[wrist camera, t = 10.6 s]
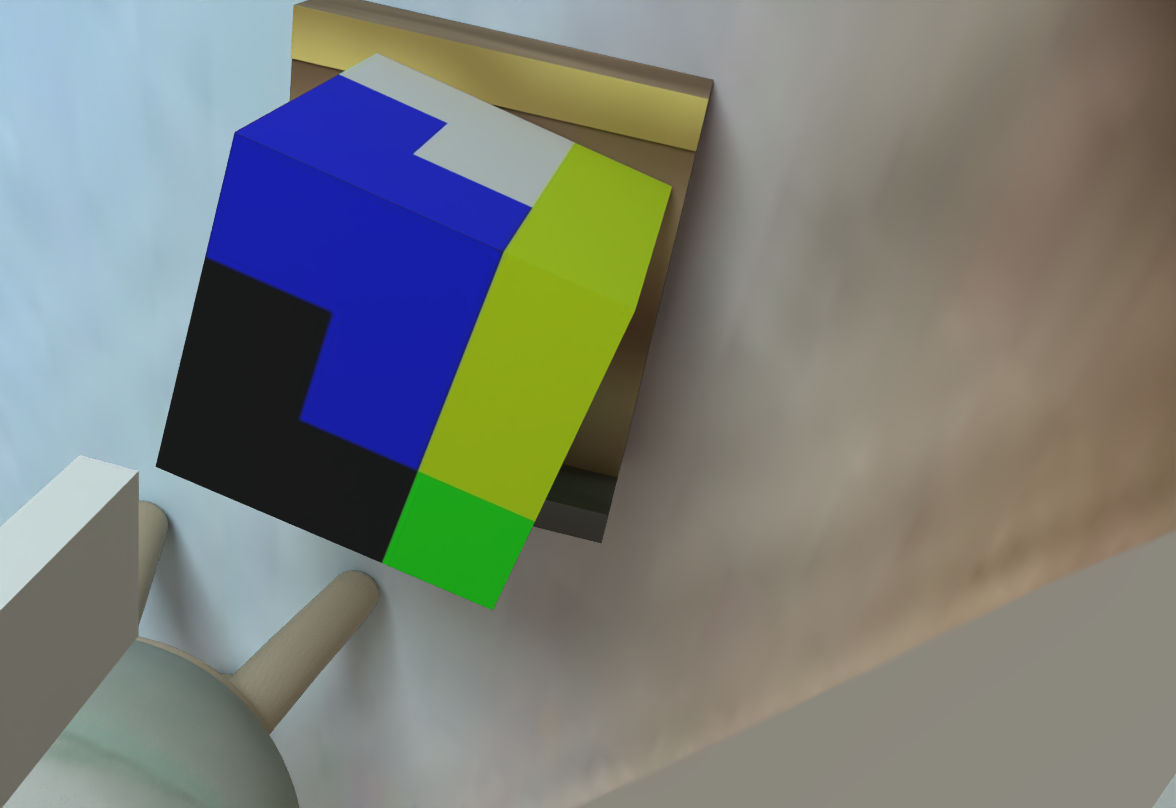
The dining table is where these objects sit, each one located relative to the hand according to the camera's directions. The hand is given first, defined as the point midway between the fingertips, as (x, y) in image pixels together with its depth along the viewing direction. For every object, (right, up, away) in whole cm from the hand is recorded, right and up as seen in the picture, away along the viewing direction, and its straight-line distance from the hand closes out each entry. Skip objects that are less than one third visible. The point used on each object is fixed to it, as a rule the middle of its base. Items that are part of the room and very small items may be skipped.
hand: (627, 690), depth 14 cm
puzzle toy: (-4, +9, +23) cm, 25 cm away
